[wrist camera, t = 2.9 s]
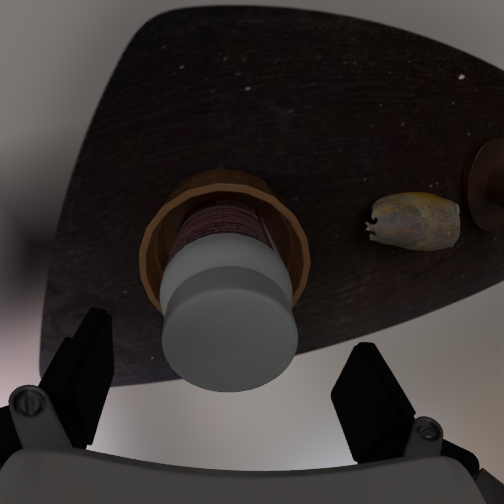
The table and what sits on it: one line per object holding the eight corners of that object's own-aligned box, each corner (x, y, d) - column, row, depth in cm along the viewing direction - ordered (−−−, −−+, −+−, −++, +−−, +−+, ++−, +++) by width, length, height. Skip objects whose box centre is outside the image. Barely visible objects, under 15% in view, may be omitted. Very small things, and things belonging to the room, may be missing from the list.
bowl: (132, 242, 22) (109, 279, 17) (216, 139, 19) (214, 145, 14) (230, 313, 25) (234, 360, 20) (315, 227, 22) (342, 259, 17)
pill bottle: (160, 229, 21) (112, 333, 10) (234, 175, 20) (250, 238, 9) (214, 292, 23) (215, 417, 13) (285, 246, 22) (337, 355, 12)
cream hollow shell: (361, 257, 24) (369, 259, 20) (355, 201, 24) (360, 191, 20) (450, 246, 22) (473, 247, 18) (443, 193, 22) (465, 182, 18)
